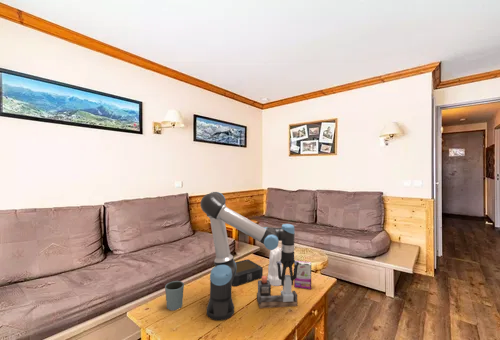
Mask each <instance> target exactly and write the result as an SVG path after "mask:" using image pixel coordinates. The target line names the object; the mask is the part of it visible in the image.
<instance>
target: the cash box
mask: <svg viewBox="0 0 500 340" xmlns="http://www.w3.org/2000/svg"><path fill="white" fill-rule="evenodd" d="M235 263H236V273H235V275H234V278H233V281H232V287H238V286H240V285H244V284H247V283H251V282H254V281H258V280H260V279H262V276H264V275H263V274H264V273H263V271H264V270H263V266H261V265H259V264H257V263H256V262H254V261H252V260H250V259H243V260H240V261H235Z"/></svg>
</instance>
